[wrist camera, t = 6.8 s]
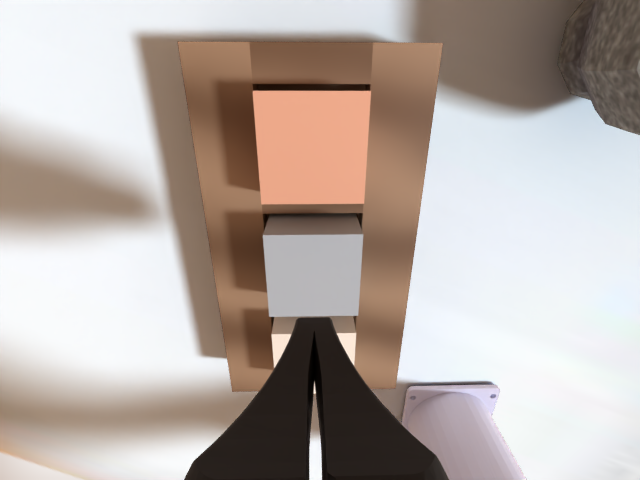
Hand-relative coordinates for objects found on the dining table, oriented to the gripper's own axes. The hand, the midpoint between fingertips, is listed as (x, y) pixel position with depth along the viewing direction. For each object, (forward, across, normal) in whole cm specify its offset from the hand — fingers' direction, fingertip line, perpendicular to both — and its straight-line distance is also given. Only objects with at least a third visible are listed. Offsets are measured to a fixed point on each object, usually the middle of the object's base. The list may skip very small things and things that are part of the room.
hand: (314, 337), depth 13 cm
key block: (+10, 0, 0) cm, 10 cm away
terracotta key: (+8, 0, -7) cm, 11 cm away
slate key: (+8, 0, 0) cm, 8 cm away
